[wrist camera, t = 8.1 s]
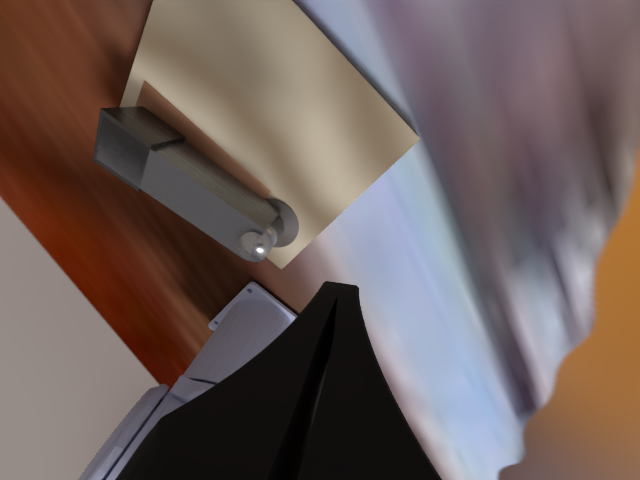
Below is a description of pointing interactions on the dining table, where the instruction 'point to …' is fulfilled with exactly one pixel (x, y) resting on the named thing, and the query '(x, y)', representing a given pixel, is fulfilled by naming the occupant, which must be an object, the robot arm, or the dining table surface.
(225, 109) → the board
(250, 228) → the leg
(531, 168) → the dining table surface
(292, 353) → the robot arm
